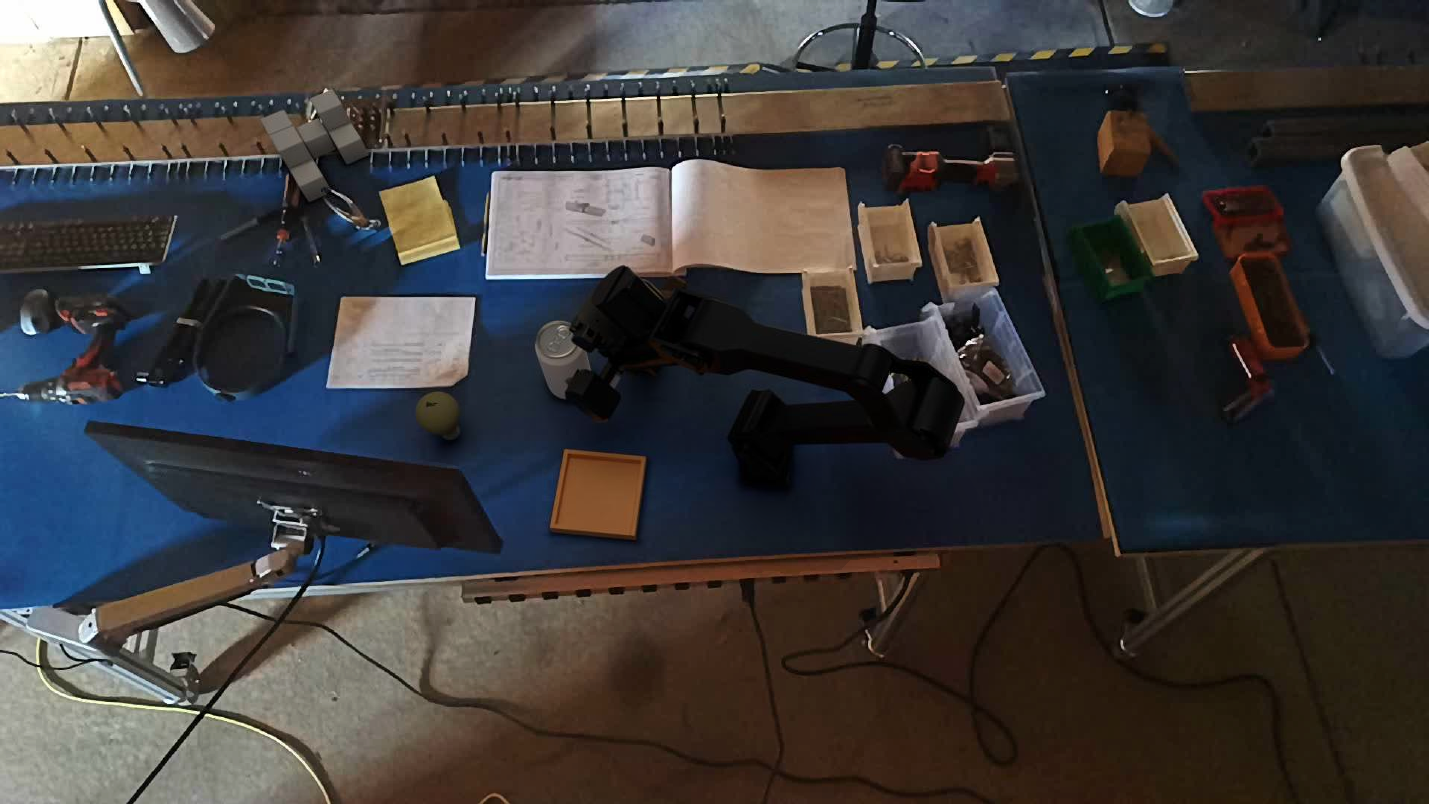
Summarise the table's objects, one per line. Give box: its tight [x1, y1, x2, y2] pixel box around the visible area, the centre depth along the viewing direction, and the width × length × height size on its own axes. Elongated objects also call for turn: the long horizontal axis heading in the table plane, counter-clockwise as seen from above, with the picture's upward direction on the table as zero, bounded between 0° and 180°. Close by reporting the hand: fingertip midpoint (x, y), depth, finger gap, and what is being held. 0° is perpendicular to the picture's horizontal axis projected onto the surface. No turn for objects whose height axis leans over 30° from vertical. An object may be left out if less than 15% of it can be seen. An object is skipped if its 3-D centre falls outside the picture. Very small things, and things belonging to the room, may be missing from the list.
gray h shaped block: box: [260, 89, 369, 203], centre depth 137 cm, size 12×12×8 cm
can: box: [534, 320, 592, 400], centre depth 118 cm, size 6×6×12 cm
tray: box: [549, 448, 648, 541], centre depth 115 cm, size 11×11×2 cm
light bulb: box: [414, 391, 461, 441], centre depth 115 cm, size 6×6×10 cm
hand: (584, 354), depth 113 cm, fingers open, 9 cm apart
